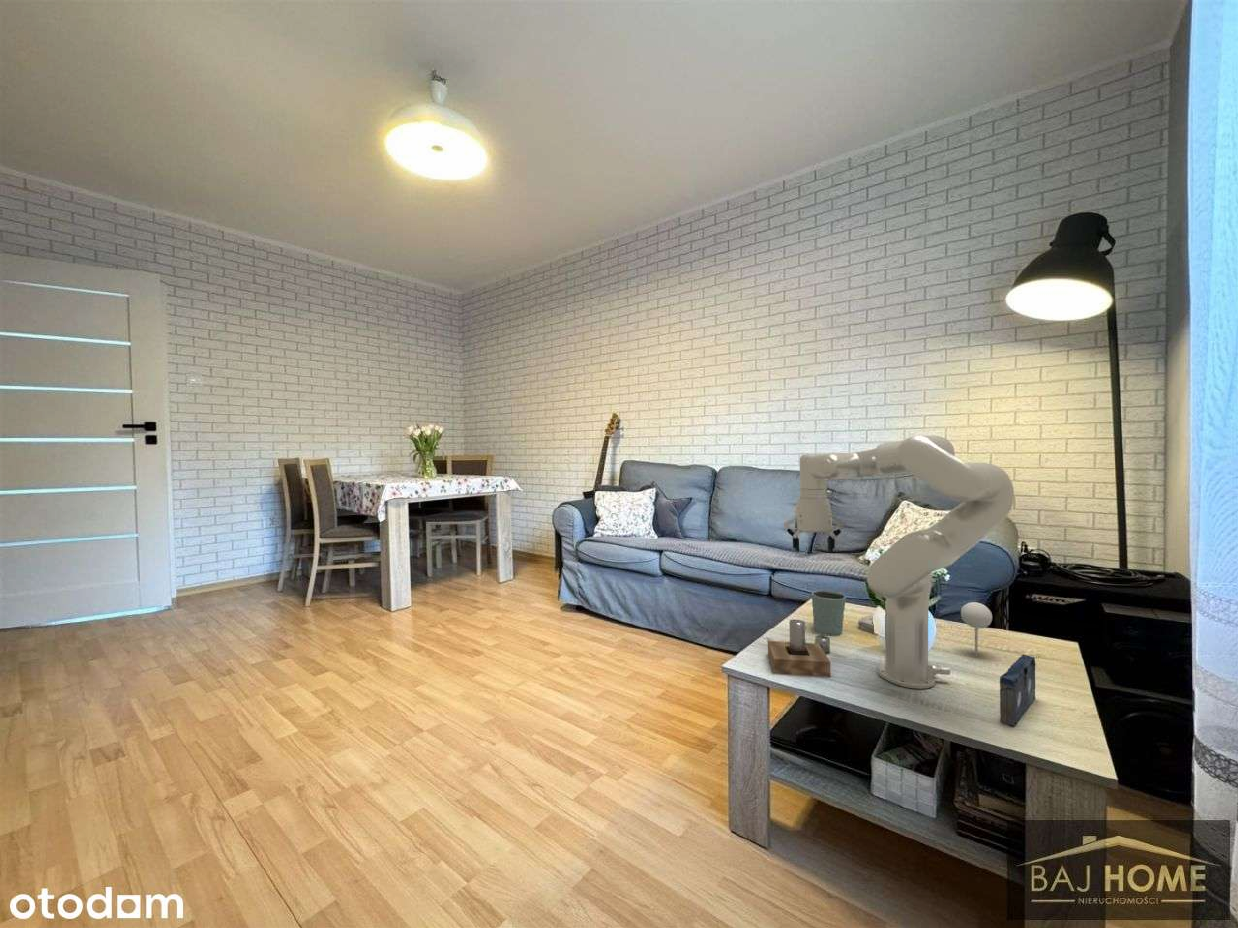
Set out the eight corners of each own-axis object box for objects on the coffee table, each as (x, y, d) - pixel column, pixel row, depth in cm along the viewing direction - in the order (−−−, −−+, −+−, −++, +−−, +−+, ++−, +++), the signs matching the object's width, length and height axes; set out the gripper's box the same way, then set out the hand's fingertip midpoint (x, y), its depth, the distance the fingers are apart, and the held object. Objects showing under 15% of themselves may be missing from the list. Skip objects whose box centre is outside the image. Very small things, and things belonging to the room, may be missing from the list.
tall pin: (803, 662, 131) (803, 619, 131) (807, 669, 127) (806, 625, 127) (788, 661, 132) (788, 619, 132) (791, 668, 128) (791, 624, 128)
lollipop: (998, 658, 133) (998, 604, 132) (981, 662, 130) (981, 608, 130) (971, 648, 139) (971, 597, 139) (954, 652, 137) (955, 600, 136)
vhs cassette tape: (1022, 695, 113) (1022, 653, 113) (1038, 700, 110) (1038, 657, 110) (996, 722, 102) (996, 676, 102) (1014, 728, 99) (1014, 681, 99)
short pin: (827, 649, 140) (827, 635, 140) (831, 654, 136) (831, 641, 136) (813, 648, 141) (813, 635, 141) (816, 654, 137) (816, 640, 137)
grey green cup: (805, 626, 158) (805, 590, 158) (832, 624, 160) (832, 588, 160) (824, 638, 148) (823, 600, 148) (852, 635, 150) (852, 597, 150)
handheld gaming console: (871, 613, 161) (918, 626, 149) (871, 623, 161) (918, 637, 149) (855, 618, 156) (902, 632, 144) (855, 629, 156) (902, 644, 144)
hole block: (819, 657, 135) (818, 643, 134) (830, 677, 123) (830, 662, 123) (767, 654, 137) (767, 641, 137) (774, 673, 125) (774, 658, 125)
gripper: (839, 493, 146) (840, 548, 146) (781, 493, 149) (781, 547, 149) (847, 495, 139) (847, 554, 139) (785, 495, 141) (785, 552, 142)
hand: (813, 550), depth 144 cm, fingers open, 9 cm apart
